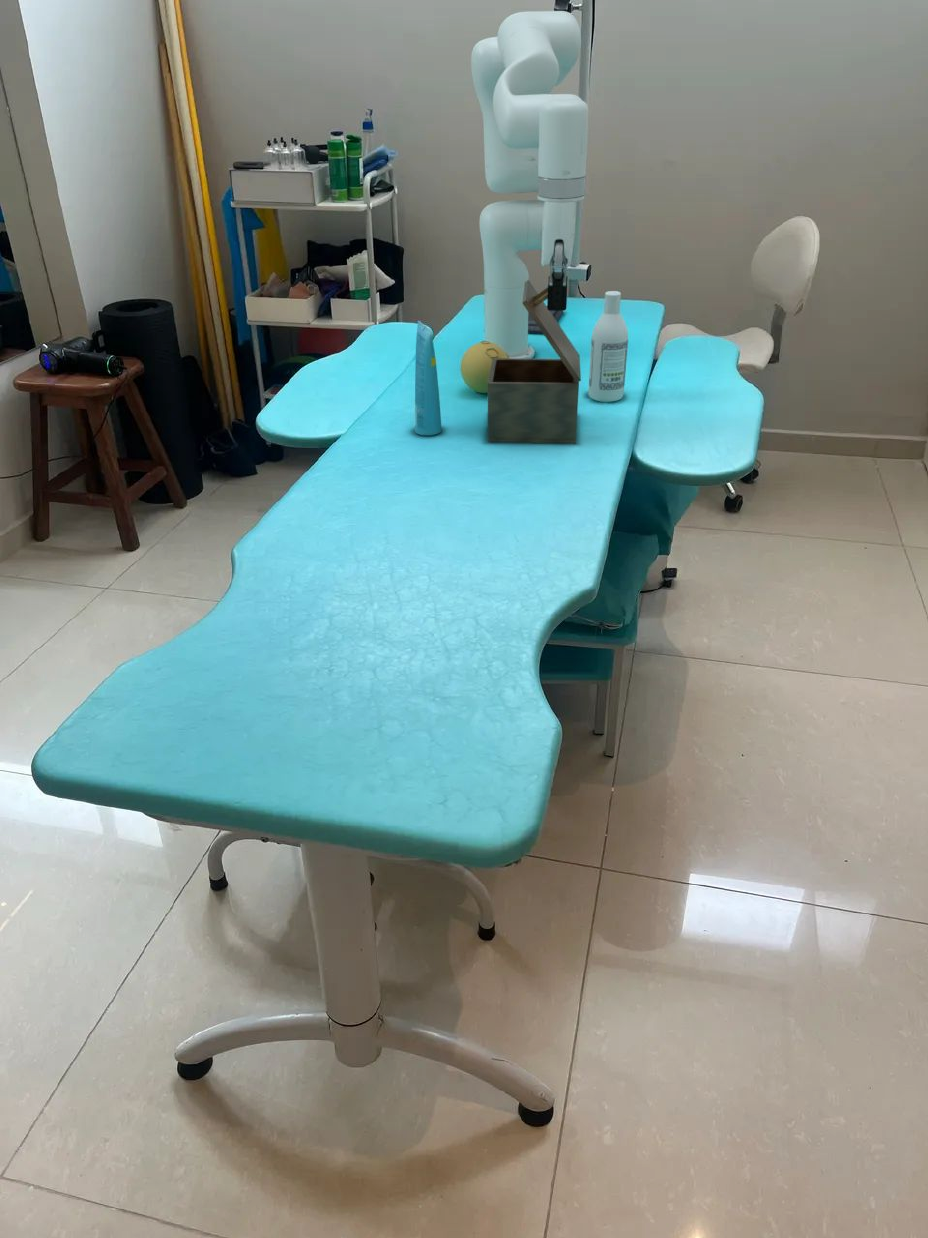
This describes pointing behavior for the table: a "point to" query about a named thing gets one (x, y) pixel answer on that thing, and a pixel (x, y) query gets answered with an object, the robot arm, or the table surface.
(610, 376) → the bath foam
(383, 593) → the table surface
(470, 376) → the stress ball
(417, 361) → the tube
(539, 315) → the lid
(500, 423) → the chest
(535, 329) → the wallet
